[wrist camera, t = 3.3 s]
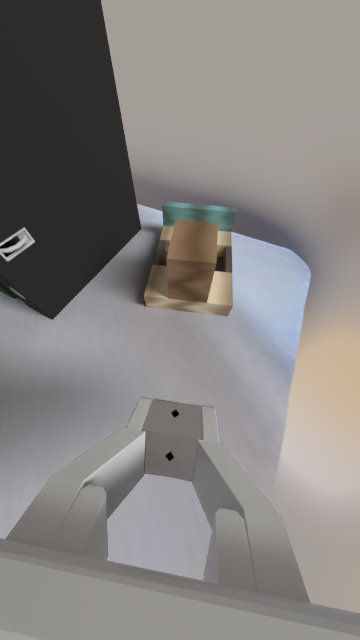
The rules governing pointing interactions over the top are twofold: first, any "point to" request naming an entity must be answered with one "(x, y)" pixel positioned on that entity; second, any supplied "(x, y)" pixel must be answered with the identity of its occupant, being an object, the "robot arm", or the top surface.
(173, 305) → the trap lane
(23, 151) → the binders
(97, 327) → the top surface
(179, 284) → the walnut block
